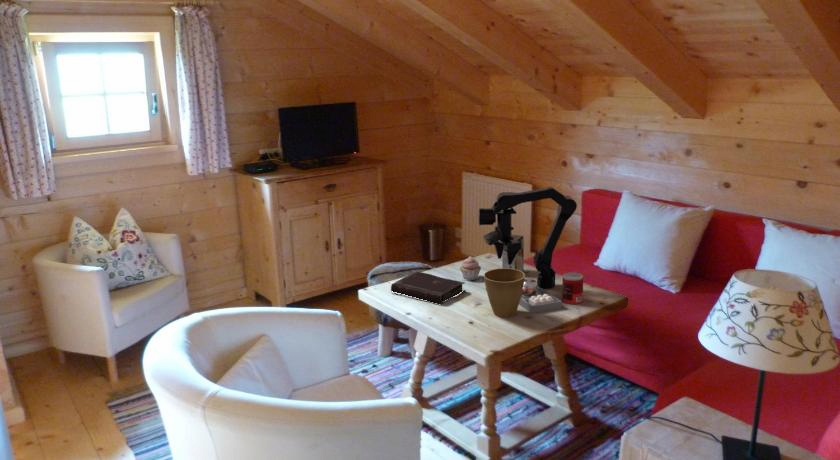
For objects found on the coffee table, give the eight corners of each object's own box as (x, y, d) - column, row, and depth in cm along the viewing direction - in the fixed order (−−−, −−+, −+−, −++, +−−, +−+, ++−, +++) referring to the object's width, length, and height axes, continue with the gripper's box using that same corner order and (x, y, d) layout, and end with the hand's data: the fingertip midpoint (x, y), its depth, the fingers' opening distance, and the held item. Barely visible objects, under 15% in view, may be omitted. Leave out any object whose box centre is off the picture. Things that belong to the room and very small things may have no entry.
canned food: (583, 299, 257) (584, 272, 254) (581, 307, 250) (582, 279, 247) (563, 298, 260) (564, 271, 257) (560, 305, 252) (561, 278, 250)
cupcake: (469, 273, 293) (469, 251, 290) (485, 277, 286) (485, 255, 284) (455, 278, 287) (454, 256, 284) (471, 283, 280) (470, 260, 278)
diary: (440, 307, 257) (439, 295, 256) (391, 295, 272) (390, 283, 271) (466, 292, 271) (466, 280, 270) (418, 281, 286) (418, 270, 285)
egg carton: (547, 303, 253) (547, 292, 252) (554, 307, 248) (554, 296, 247) (528, 306, 250) (528, 295, 249) (535, 310, 246) (535, 299, 245)
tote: (534, 292, 267) (534, 284, 266) (561, 310, 248) (561, 301, 247) (506, 296, 263) (506, 288, 262) (531, 315, 244) (531, 306, 243)
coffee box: (510, 268, 297) (510, 234, 293) (524, 270, 294) (524, 235, 290) (501, 274, 290) (501, 239, 286) (515, 276, 287) (515, 240, 282)
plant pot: (481, 309, 252) (480, 269, 247) (519, 306, 253) (519, 267, 248) (488, 324, 237) (487, 282, 233) (529, 321, 238) (529, 279, 234)
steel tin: (531, 294, 262) (531, 278, 260) (538, 299, 257) (538, 282, 255) (518, 296, 260) (518, 280, 259) (525, 301, 255) (525, 284, 253)
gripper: (476, 221, 270) (476, 258, 274) (496, 232, 253) (496, 271, 257) (501, 218, 274) (501, 254, 278) (522, 228, 257) (522, 267, 261)
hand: (504, 261), depth 268 cm, fingers open, 9 cm apart
